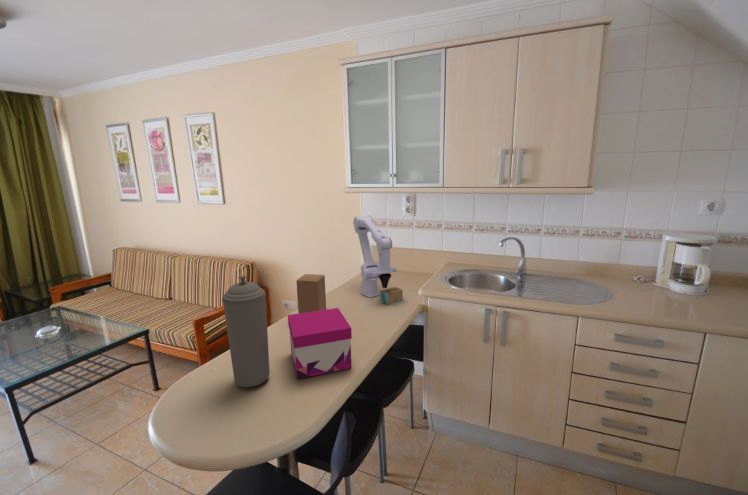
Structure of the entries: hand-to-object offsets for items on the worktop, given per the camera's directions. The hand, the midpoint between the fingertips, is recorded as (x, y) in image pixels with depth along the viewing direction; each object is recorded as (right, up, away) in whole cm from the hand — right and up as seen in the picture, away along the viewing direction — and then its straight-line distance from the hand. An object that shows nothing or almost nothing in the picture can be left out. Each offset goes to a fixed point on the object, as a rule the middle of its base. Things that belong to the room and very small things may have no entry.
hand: (384, 287), depth 173 cm
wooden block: (-34, -13, -15) cm, 39 cm away
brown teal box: (0, -5, +1) cm, 5 cm away
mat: (+5, -8, +5) cm, 11 cm away
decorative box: (-25, -20, -50) cm, 60 cm away
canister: (-45, -23, -61) cm, 80 cm away
